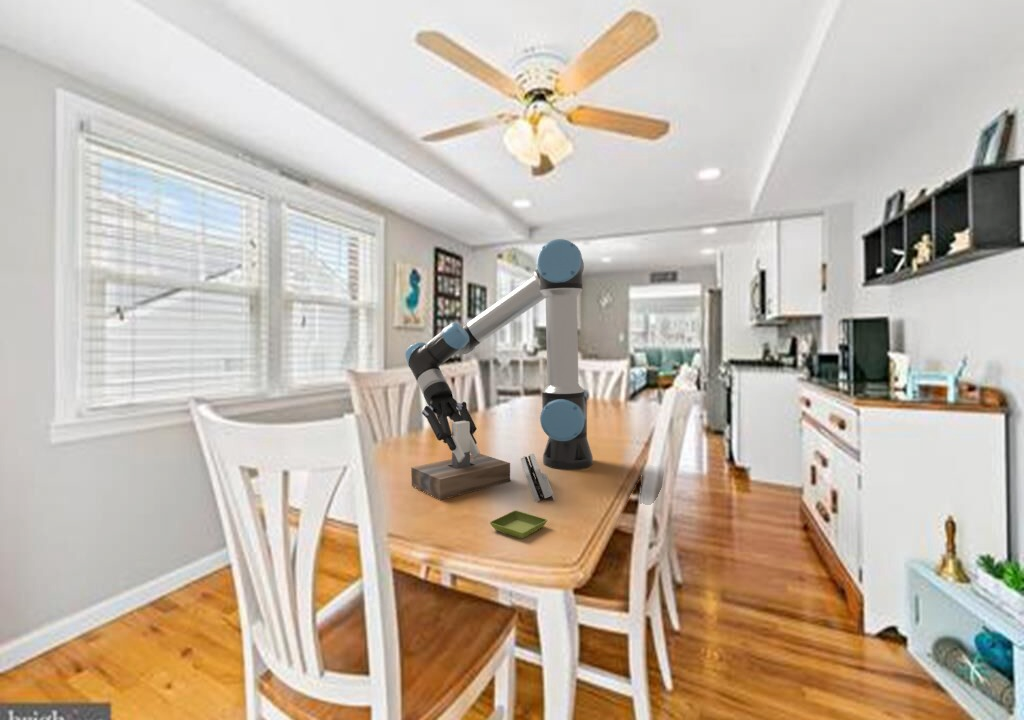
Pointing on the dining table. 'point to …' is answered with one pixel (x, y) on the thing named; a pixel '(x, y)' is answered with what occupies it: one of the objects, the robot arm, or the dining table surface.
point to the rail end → (461, 443)
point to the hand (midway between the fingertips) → (469, 457)
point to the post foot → (460, 476)
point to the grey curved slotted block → (540, 478)
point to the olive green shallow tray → (518, 524)
